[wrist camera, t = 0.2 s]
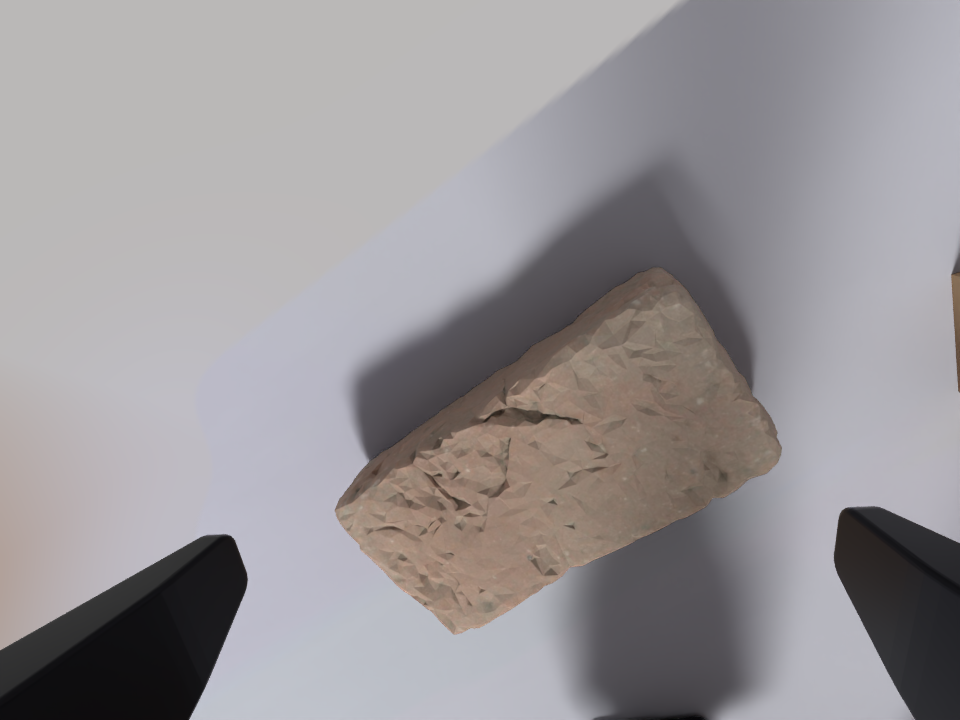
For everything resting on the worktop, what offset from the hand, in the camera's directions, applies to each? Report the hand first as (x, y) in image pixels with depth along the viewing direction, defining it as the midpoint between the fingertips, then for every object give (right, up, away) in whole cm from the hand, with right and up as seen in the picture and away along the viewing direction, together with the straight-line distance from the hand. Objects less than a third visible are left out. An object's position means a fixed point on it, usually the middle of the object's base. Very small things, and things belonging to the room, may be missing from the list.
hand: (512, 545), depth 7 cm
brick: (+2, -1, +16) cm, 16 cm away
